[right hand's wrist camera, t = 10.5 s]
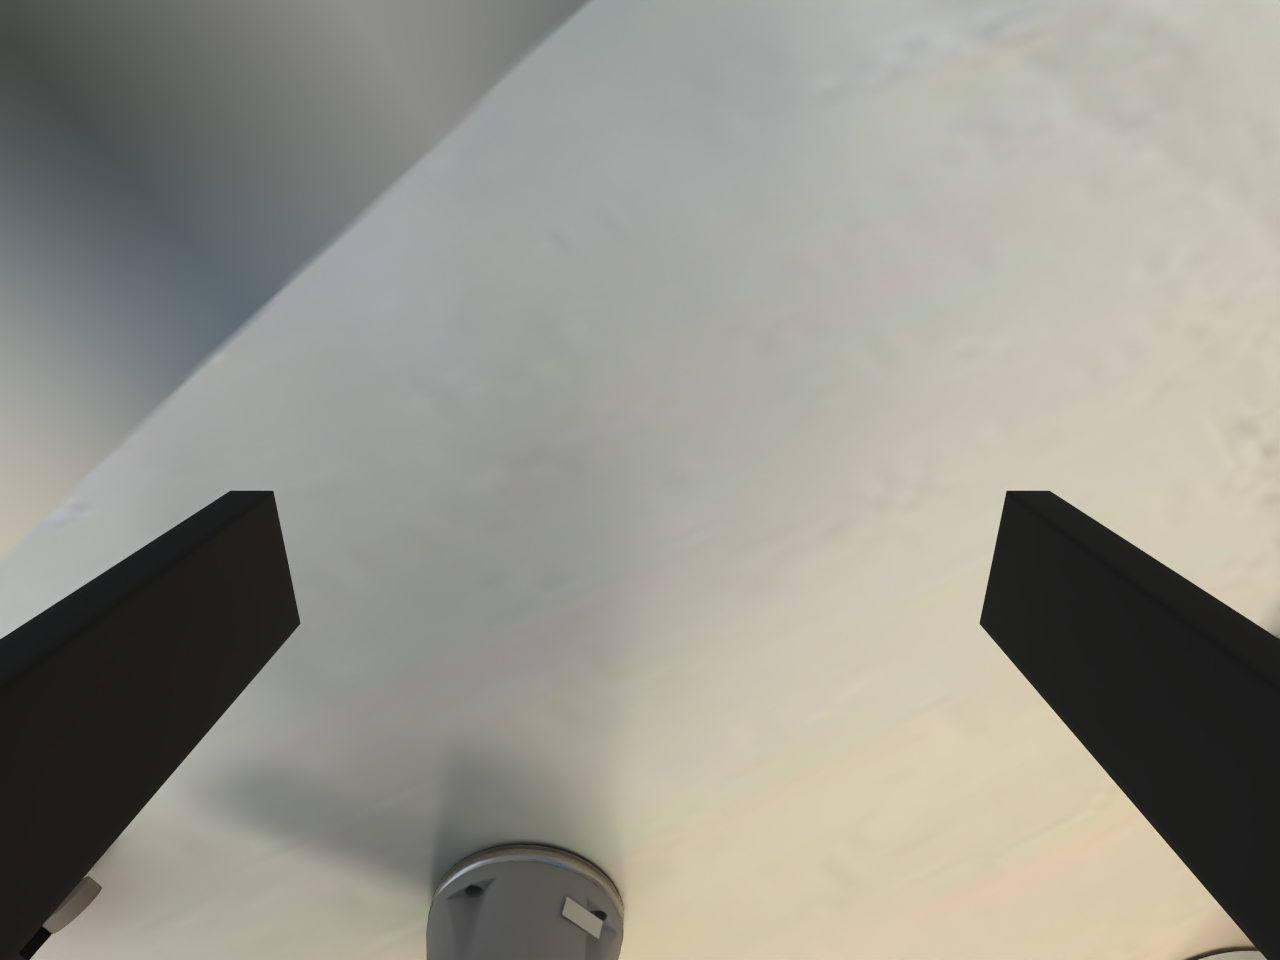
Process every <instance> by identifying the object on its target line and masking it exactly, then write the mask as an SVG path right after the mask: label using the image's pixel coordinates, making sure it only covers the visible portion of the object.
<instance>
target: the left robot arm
mask: <svg viewBox="0 0 1280 960" xmlns="http://www.w3.org/2000/svg"><path fill="white" fill-rule="evenodd" d="M1198 960H1267V959H1266V958H1265V957H1264V956H1263V955H1262V953H1261V952H1260V951H1235V952H1227V953H1221V954H1216V955H1212V956H1208V957H1205V958H1201V959H1198Z"/></svg>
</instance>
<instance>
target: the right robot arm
mask: <svg viewBox="0 0 1280 960" xmlns="http://www.w3.org/2000/svg"><path fill="white" fill-rule="evenodd" d="M299 625H300V619H299V614H298V610H297V605H296V600H295V595H294V590H293V585H292V580H291V575H290V570H289V565H288V561H287V556H286V551H285V546H284V541H283V536H282V531H281V526H280V521H279V517H278V512H277V507H276V502H275V497H274V492H273V491H229V492H228V493H226V494H225V495H223V496H222V497H220V498H219V499H217V500H216V501H214V502H212V503H211V504H209V505H208V506H206V507H205V508H203V509H202V510H200V511H198V512H197V513H195V514H194V515H192V516H191V517H189V518H188V519H186V520H185V521H183V522H181V523H180V524H178V525H177V526H175V527H174V528H172V529H171V530H169V531H168V532H166V533H164V534H163V535H161V536H160V537H158V538H157V539H155V540H154V541H152V542H150V543H149V544H147V545H146V546H144V547H143V548H141V549H140V550H138V551H137V552H135V553H133V554H132V555H130V556H129V557H127V558H126V559H124V560H123V561H121V562H120V563H118V564H116V565H115V566H113V567H112V568H110V569H109V570H107V571H106V572H104V573H102V574H101V575H99V576H98V577H96V578H95V579H93V580H92V581H90V582H89V583H87V584H85V585H84V586H82V587H81V588H79V589H78V590H76V591H75V592H73V593H72V594H70V595H68V596H67V597H65V598H64V599H62V600H61V601H59V602H58V603H56V604H54V605H53V606H51V607H50V608H48V609H47V610H45V611H44V612H42V613H41V614H39V615H37V616H36V617H34V618H33V619H31V620H30V621H28V622H27V623H25V624H24V625H22V626H20V627H19V628H17V629H16V630H14V631H13V632H11V633H10V634H8V635H6V636H5V637H3V638H2V639H0V960H13V959H14V958H15V957H16V956H17V955H18V953H19V952H20V951H21V950H22V949H23V948H24V946H25V945H26V944H27V943H28V942H29V941H30V939H31V938H32V937H33V936H34V935H35V934H36V932H37V931H38V930H39V929H40V928H41V927H42V925H43V924H44V923H45V922H46V921H47V919H48V918H49V917H50V916H51V915H52V914H53V912H54V911H55V910H56V909H57V908H58V907H59V905H60V904H61V903H62V902H63V901H64V900H65V898H66V897H67V896H68V895H69V894H70V893H71V891H72V890H73V889H74V888H75V887H76V886H77V884H78V883H79V882H80V881H81V880H82V879H83V877H84V876H85V875H86V874H87V873H88V872H89V870H90V869H91V868H92V867H93V866H94V865H95V863H96V862H97V861H98V860H99V859H100V857H101V856H102V855H103V854H104V853H105V852H106V850H107V849H108V848H109V847H110V846H111V845H112V843H113V842H114V841H115V840H116V839H117V838H118V836H119V835H120V834H121V833H122V832H123V831H124V829H125V828H126V827H127V826H128V825H129V824H130V822H131V821H132V820H133V819H134V818H135V817H136V815H137V814H138V813H139V812H140V811H141V810H142V808H143V807H144V806H145V805H146V804H147V803H148V801H149V800H150V799H151V798H152V797H153V795H154V794H155V793H156V792H157V791H158V790H159V788H160V787H161V786H162V785H163V784H164V783H165V781H166V780H167V779H168V778H169V777H170V776H171V774H172V773H173V772H174V771H175V770H176V769H177V767H178V766H179V765H180V764H181V763H182V762H183V760H184V759H185V758H186V757H187V756H188V755H189V753H190V752H191V751H192V750H193V749H194V748H195V746H196V745H197V744H198V743H199V742H200V741H201V739H202V738H203V737H204V736H205V735H206V733H207V732H208V731H209V730H210V729H211V728H212V726H213V725H214V724H215V723H216V722H217V721H218V719H219V718H220V717H221V716H222V715H223V714H224V712H225V711H226V710H227V709H228V708H229V707H230V705H231V704H232V703H233V702H234V701H235V700H236V698H237V697H238V696H239V695H240V694H241V693H242V691H243V690H244V689H245V688H246V687H247V686H248V684H249V683H250V682H251V681H252V680H253V679H254V677H255V676H256V675H257V674H258V673H259V671H260V670H261V669H262V668H263V667H264V666H265V664H266V663H267V662H268V661H269V660H270V659H271V657H272V656H273V655H274V654H275V653H276V652H277V650H278V649H279V648H280V647H281V646H282V645H283V643H284V642H285V641H286V640H287V639H288V638H289V636H290V635H291V634H292V633H293V632H294V631H295V629H296V628H297V627H298V626H299ZM980 625H981V626H982V627H983V628H984V629H985V631H986V632H987V633H988V634H989V635H990V636H991V638H992V639H993V640H994V641H995V642H996V643H997V645H998V646H999V647H1000V648H1001V649H1002V650H1003V652H1004V653H1005V654H1006V655H1007V656H1008V657H1009V659H1010V660H1011V661H1012V662H1013V663H1014V664H1015V666H1016V667H1017V668H1018V669H1019V670H1020V671H1021V673H1022V674H1023V675H1024V676H1025V677H1026V679H1027V680H1028V681H1029V682H1030V683H1031V684H1032V686H1033V687H1034V688H1035V689H1036V690H1037V691H1038V693H1039V694H1040V695H1041V696H1042V697H1043V698H1044V700H1045V701H1046V702H1047V703H1048V704H1049V705H1050V707H1051V708H1052V709H1053V710H1054V711H1055V712H1056V714H1057V715H1058V716H1059V717H1060V718H1061V719H1062V721H1063V722H1064V723H1065V724H1066V725H1067V726H1068V728H1069V729H1070V730H1071V731H1072V732H1073V733H1074V735H1075V736H1076V737H1077V738H1078V739H1079V741H1080V742H1081V743H1082V744H1083V745H1084V746H1085V748H1086V749H1087V750H1088V751H1089V752H1090V753H1091V755H1092V756H1093V757H1094V758H1095V759H1096V760H1097V762H1098V763H1099V764H1100V765H1101V766H1102V767H1103V769H1104V770H1105V771H1106V772H1107V773H1108V774H1109V776H1110V777H1111V778H1112V779H1113V780H1114V781H1115V783H1116V784H1117V785H1118V786H1119V787H1120V788H1121V790H1122V791H1123V792H1124V793H1125V794H1126V795H1127V797H1128V798H1129V799H1130V800H1131V801H1132V803H1133V804H1134V805H1135V806H1136V807H1137V808H1138V810H1139V811H1140V812H1141V813H1142V814H1143V815H1144V817H1145V818H1146V819H1147V820H1148V821H1149V822H1150V824H1151V825H1152V826H1153V827H1154V828H1155V829H1156V831H1157V832H1158V833H1159V834H1160V835H1161V836H1162V838H1163V839H1164V840H1165V841H1166V842H1167V843H1168V845H1169V846H1170V847H1171V848H1172V849H1173V850H1174V852H1175V853H1176V854H1177V855H1178V856H1179V857H1180V859H1181V860H1182V861H1183V862H1184V863H1185V865H1186V866H1187V867H1188V868H1189V869H1190V870H1191V872H1192V873H1193V874H1194V875H1195V876H1196V877H1197V879H1198V880H1199V881H1200V882H1201V883H1202V884H1203V886H1204V887H1205V888H1206V889H1207V890H1208V891H1209V893H1210V894H1211V895H1212V896H1213V897H1214V898H1215V900H1216V901H1217V902H1218V903H1219V904H1220V905H1221V907H1222V908H1223V909H1224V910H1225V911H1226V912H1227V914H1228V915H1229V916H1230V917H1231V918H1232V920H1233V921H1234V922H1235V923H1236V924H1237V925H1238V927H1239V928H1240V929H1241V930H1242V931H1243V932H1244V934H1245V935H1246V936H1247V937H1248V938H1249V939H1250V941H1251V942H1252V943H1253V944H1254V945H1255V946H1256V948H1257V949H1258V950H1259V951H1260V952H1261V953H1262V955H1263V956H1264V957H1265V958H1266V959H1267V960H1280V639H1278V638H1277V637H1275V636H1274V635H1272V634H1270V633H1269V632H1267V631H1266V630H1264V629H1263V628H1261V627H1260V626H1258V625H1256V624H1255V623H1253V622H1252V621H1250V620H1249V619H1247V618H1246V617H1244V616H1243V615H1241V614H1239V613H1238V612H1236V611H1235V610H1233V609H1232V608H1230V607H1229V606H1227V605H1226V604H1224V603H1222V602H1221V601H1219V600H1218V599H1216V598H1215V597H1213V596H1212V595H1210V594H1208V593H1207V592H1205V591H1204V590H1202V589H1201V588H1199V587H1198V586H1196V585H1195V584H1193V583H1191V582H1190V581H1188V580H1187V579H1185V578H1184V577H1182V576H1181V575H1179V574H1178V573H1176V572H1174V571H1173V570H1171V569H1170V568H1168V567H1167V566H1165V565H1164V564H1162V563H1160V562H1159V561H1157V560H1156V559H1154V558H1153V557H1151V556H1150V555H1148V554H1147V553H1145V552H1143V551H1142V550H1140V549H1139V548H1137V547H1136V546H1134V545H1133V544H1131V543H1130V542H1128V541H1126V540H1125V539H1123V538H1122V537H1120V536H1119V535H1117V534H1116V533H1114V532H1112V531H1111V530H1109V529H1108V528H1106V527H1105V526H1103V525H1102V524H1100V523H1099V522H1097V521H1095V520H1094V519H1092V518H1091V517H1089V516H1088V515H1086V514H1085V513H1083V512H1082V511H1080V510H1078V509H1077V508H1075V507H1074V506H1072V505H1071V504H1069V503H1068V502H1066V501H1064V500H1063V499H1061V498H1060V497H1058V496H1057V495H1055V494H1054V493H1052V492H1051V491H1007V492H1006V497H1005V502H1004V507H1003V512H1002V517H1001V521H1000V526H999V531H998V536H997V541H996V546H995V551H994V556H993V561H992V565H991V570H990V575H989V580H988V585H987V590H986V595H985V600H984V605H983V610H982V614H981V619H980ZM623 920H624V913H623V906H622V902H621V899H620V896H619V894H618V892H617V890H616V888H615V887H614V885H613V884H612V883H611V881H610V880H609V879H608V878H607V877H606V876H605V875H604V874H603V873H602V872H601V871H600V870H599V869H597V868H596V867H595V866H593V865H592V864H590V863H589V862H587V861H585V860H584V859H582V858H580V857H578V856H575V855H573V854H571V853H568V852H565V851H562V850H559V849H555V848H551V847H545V846H539V845H523V844H519V845H506V846H499V847H494V848H490V849H487V850H483V851H481V852H478V853H475V854H473V855H471V856H469V857H467V858H465V859H464V860H462V861H460V862H459V863H458V864H456V865H455V866H454V867H453V868H451V869H450V870H449V871H448V872H447V873H446V875H445V876H444V877H443V878H442V880H441V882H440V883H439V885H438V887H437V889H436V892H435V895H434V898H433V901H432V905H431V908H430V911H429V916H428V923H427V932H426V941H427V960H618V958H619V955H620V951H621V945H622V940H623Z"/></svg>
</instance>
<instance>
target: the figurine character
mask: <svg viewBox="0 0 1280 960" xmlns="http://www.w3.org/2000/svg"><path fill="white" fill-rule="evenodd" d="M101 888H102V887H101V886H100V885H99V884H98V883H96V882H95V881H94V880H93V879H92V878H90V877H89V876H88V877H86V878H84V879H82V880H81V881H80V882H79V883H78V884H77V886H76V887H75V888H74V889H73V890H72V891H71V893H70V894H69V895H68V896H67V897H66V898H65V900H64V901H63V902H62V903H61V904H60V905H59V907H58V908H57V909H56V910H55V911H54V912H53V914H52V915H51V916H50V917H49V918H48V919H47V921H46V922H45V923H44V924H43V925H42V927H41V928H40V929H39V930H38V931H37V932H36V934H35V935H34V936H33V937H32V938H31V939H30V941H29V942H28V943H27V944H26V945H25V946H24V948H23V949H22V950H21V951H20V952H19V953H18V955H17V956H16V957H15V958H14V959H13V960H30V959H31V957H32V956H33V955H34V954H35V953H36V951H37V950H38V949H39V948H40V947H41V946H42V945H43V943H44V942H45V941H46V940H47V939H48V938H49V937H50V936H51V934H53V933H56V932H58V931H59V930H61V929H62V928H64V927H65V926H66V925H68V924H69V923H70V922H71V921H72V920H74V919H75V918H76V917H77V916H78V915H79V914H80V913H81V912H82V911H83V910H84V909H85V908H86V907H87V906H88V905H89V904H90V903H91V902H92V901H93V900H94V899H95V897H96V896H97V895H98V894H99V892H100V890H101Z"/></svg>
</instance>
